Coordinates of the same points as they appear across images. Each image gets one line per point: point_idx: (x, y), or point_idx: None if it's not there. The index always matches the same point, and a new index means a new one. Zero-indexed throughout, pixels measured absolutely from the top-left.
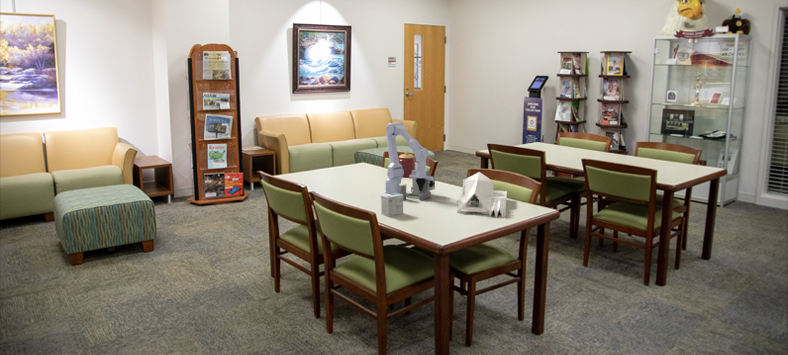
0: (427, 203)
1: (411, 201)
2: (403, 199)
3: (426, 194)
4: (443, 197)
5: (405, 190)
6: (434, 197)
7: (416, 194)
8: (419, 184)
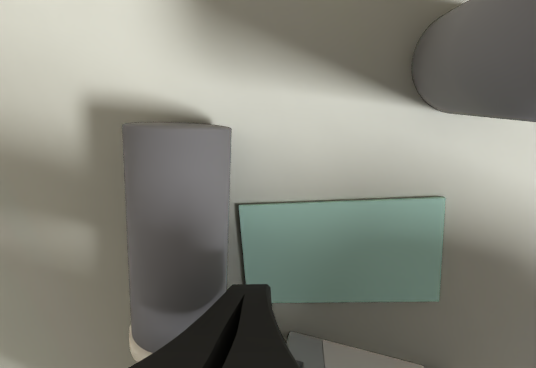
0: (49, 7)
1: (294, 3)
2: (442, 17)
3: (127, 219)
4: (53, 363)
5: (497, 13)
6: None
7: (369, 357)
8: (231, 351)
